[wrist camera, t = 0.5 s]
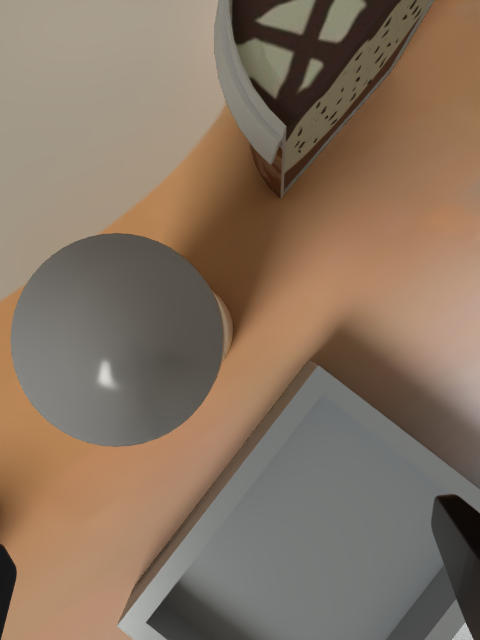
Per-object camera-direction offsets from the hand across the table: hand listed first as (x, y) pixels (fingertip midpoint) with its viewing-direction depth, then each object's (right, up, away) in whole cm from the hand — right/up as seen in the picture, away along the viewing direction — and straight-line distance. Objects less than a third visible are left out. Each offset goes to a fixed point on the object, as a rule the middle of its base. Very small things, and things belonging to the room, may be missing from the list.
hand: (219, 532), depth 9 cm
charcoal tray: (+5, -8, +14) cm, 17 cm away
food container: (+3, +17, +15) cm, 23 cm away
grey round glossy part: (-3, +4, +15) cm, 15 cm away
